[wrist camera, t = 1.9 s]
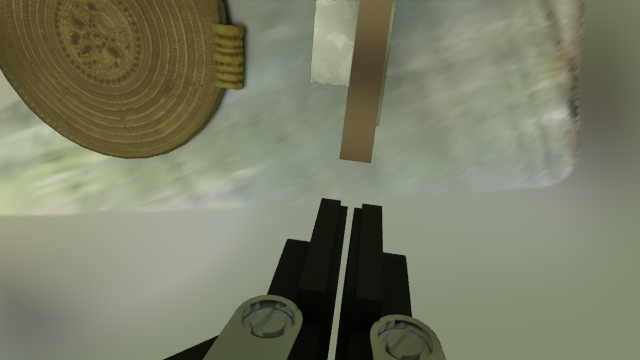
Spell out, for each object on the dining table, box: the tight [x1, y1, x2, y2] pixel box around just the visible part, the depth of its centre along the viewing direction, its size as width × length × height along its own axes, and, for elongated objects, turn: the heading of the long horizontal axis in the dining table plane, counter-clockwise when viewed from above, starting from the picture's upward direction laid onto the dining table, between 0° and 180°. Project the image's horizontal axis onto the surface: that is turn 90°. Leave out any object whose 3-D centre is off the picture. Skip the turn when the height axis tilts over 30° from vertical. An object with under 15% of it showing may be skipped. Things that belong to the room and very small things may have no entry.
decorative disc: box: [0, 0, 244, 159], centre depth 45 cm, size 29×3×30 cm
